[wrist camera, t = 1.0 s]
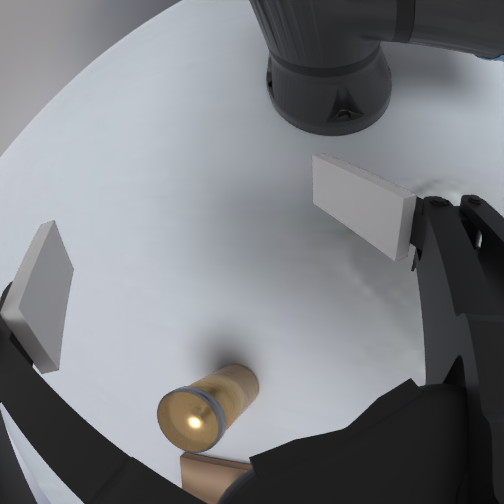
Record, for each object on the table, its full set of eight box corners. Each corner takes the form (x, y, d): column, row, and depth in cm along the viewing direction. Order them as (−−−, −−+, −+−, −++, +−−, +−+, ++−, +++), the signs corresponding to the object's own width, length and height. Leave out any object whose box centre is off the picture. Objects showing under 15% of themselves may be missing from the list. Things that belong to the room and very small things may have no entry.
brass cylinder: (231, 352, 33) (177, 376, 22) (270, 383, 32) (233, 423, 20) (204, 387, 33) (145, 420, 22) (241, 417, 32) (195, 465, 20)
